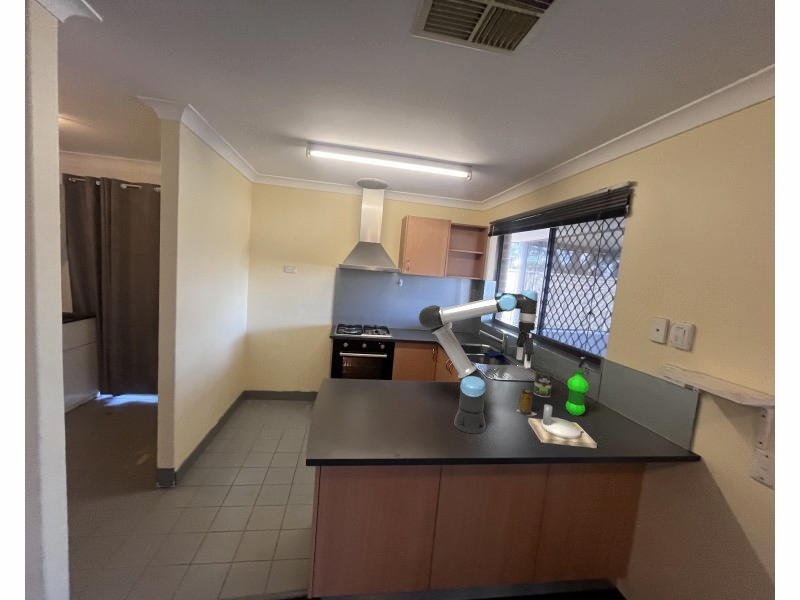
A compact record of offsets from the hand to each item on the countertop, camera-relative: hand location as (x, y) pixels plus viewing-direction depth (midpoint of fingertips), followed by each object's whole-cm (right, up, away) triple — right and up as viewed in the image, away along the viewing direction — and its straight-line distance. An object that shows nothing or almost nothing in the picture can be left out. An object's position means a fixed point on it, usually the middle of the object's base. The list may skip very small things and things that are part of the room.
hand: (522, 363), depth 157 cm
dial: (+16, -31, -6) cm, 35 cm away
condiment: (+8, -31, +17) cm, 36 cm away
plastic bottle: (+37, -33, +19) cm, 53 cm away
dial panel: (+16, -33, -5) cm, 37 cm away
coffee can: (+30, -30, +46) cm, 63 cm away
